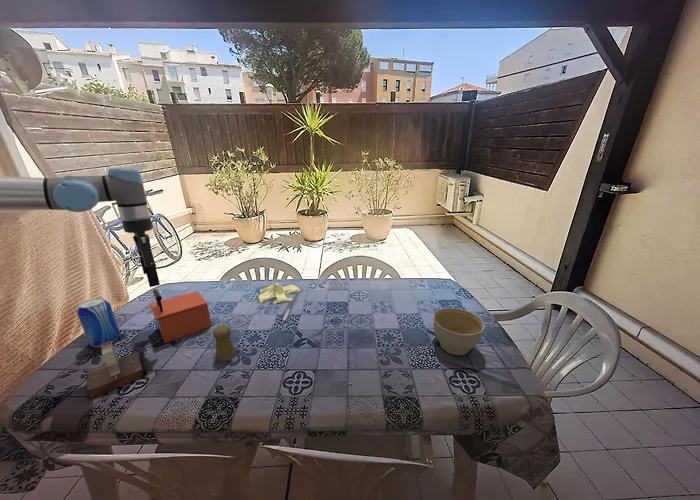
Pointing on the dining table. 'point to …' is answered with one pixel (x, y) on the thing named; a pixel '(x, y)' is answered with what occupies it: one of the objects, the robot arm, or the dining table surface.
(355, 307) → the dining table surface
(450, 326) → the planter bowl
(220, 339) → the cork
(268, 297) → the cloth
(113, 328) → the beer can
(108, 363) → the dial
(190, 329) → the orange box
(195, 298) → the box lid
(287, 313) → the butter knife
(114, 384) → the brown flat block
